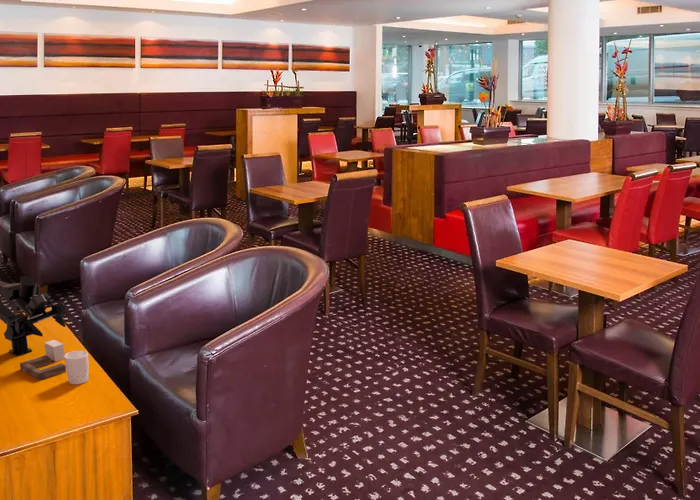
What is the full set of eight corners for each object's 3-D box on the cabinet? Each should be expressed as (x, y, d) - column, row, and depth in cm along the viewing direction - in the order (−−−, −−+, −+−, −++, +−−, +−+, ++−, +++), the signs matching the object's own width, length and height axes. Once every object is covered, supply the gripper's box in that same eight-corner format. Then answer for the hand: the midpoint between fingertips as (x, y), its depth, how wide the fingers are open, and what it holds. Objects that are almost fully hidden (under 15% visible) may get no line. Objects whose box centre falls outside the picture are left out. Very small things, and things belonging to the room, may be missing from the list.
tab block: (46, 357, 280) (44, 342, 278) (55, 354, 283) (54, 339, 281) (55, 361, 276) (53, 347, 274) (65, 358, 279) (63, 344, 277)
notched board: (20, 369, 268) (19, 363, 268) (46, 361, 276) (45, 355, 275) (39, 380, 259) (38, 373, 259) (66, 371, 267) (65, 365, 266)
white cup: (75, 387, 254) (72, 360, 251) (62, 381, 258) (59, 355, 256) (95, 379, 260) (92, 353, 257) (82, 374, 265) (79, 348, 262)
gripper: (6, 299, 263) (30, 323, 256) (53, 282, 277) (77, 305, 270) (5, 321, 269) (29, 346, 262) (51, 304, 283) (75, 327, 276)
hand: (53, 330), depth 268 cm, fingers open, 9 cm apart
